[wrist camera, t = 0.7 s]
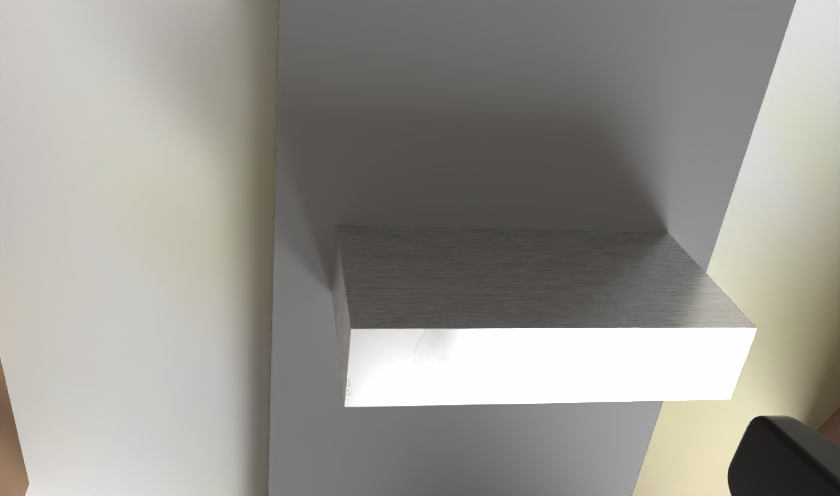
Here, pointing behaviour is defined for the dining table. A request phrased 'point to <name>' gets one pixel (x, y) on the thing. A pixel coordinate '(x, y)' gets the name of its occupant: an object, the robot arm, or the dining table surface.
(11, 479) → the walnut bar
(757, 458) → the robot arm
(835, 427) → the tissue box cover
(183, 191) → the dining table surface
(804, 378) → the dining table surface
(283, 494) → the stand
